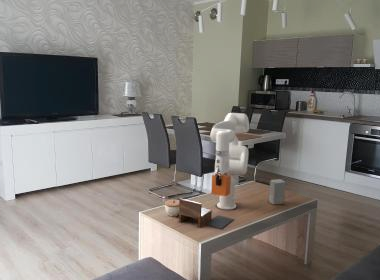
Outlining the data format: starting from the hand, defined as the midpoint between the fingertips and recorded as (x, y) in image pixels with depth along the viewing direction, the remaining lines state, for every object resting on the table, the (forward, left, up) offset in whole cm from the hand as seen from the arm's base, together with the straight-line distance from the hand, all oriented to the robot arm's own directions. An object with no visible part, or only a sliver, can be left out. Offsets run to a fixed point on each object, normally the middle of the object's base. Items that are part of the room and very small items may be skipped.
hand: (221, 183), depth 207 cm
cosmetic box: (-52, +17, -24) cm, 60 cm away
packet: (0, 0, -6) cm, 6 cm away
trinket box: (+5, -29, -24) cm, 38 cm away
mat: (0, 0, -24) cm, 24 cm away
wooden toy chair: (+6, -13, -24) cm, 27 cm away
